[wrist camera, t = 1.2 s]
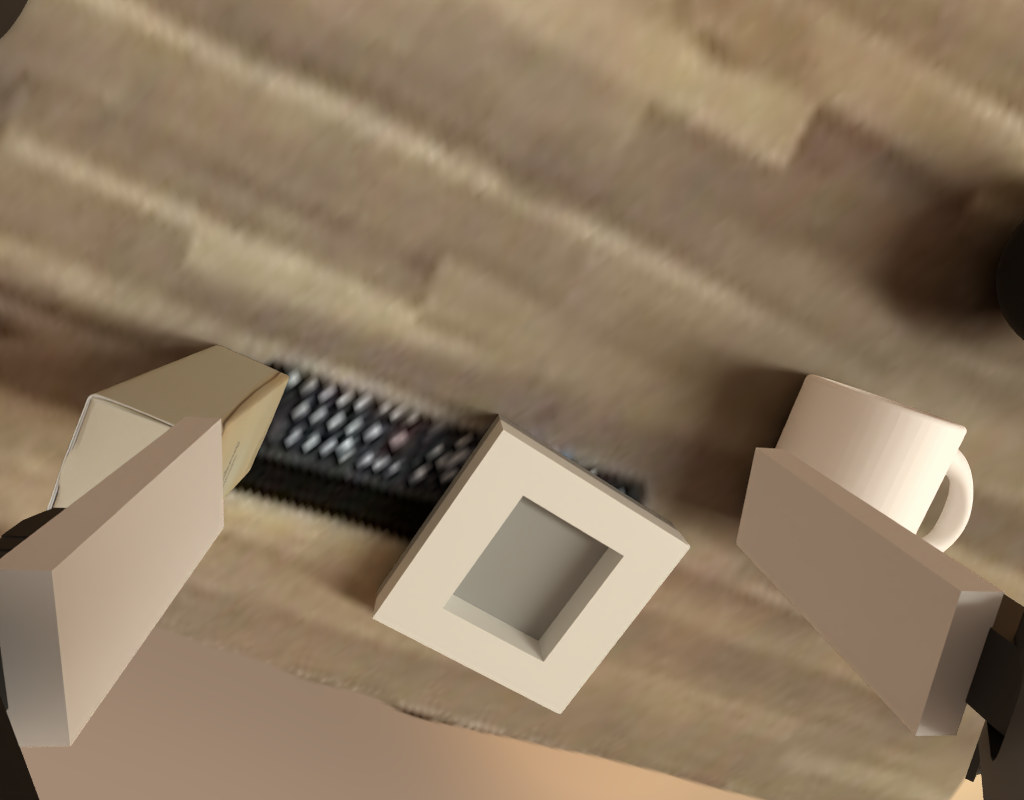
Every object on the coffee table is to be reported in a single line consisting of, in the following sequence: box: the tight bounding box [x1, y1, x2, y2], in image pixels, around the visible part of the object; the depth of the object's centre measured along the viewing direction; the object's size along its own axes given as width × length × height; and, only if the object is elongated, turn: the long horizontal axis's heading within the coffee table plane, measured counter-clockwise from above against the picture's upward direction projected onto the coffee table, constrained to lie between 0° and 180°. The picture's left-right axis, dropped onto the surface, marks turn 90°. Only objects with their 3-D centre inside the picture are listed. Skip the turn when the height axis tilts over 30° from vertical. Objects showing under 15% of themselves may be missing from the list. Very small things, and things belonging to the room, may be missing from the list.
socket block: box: [373, 414, 690, 714], centre depth 37 cm, size 13×13×3 cm
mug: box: [775, 374, 973, 552], centre depth 35 cm, size 12×10×8 cm
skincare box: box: [46, 345, 289, 511], centre depth 28 cm, size 6×4×12 cm
